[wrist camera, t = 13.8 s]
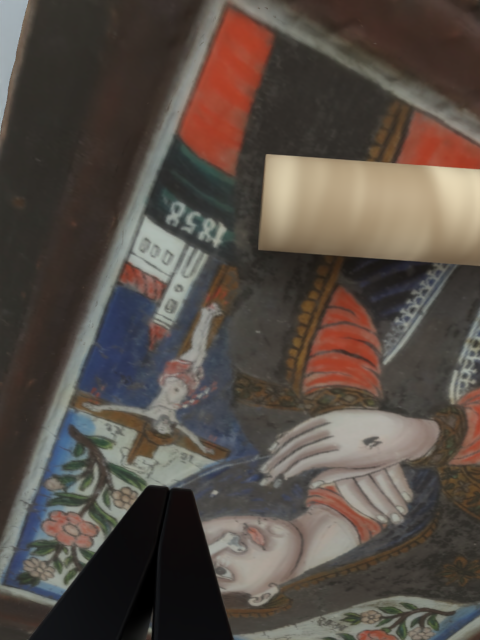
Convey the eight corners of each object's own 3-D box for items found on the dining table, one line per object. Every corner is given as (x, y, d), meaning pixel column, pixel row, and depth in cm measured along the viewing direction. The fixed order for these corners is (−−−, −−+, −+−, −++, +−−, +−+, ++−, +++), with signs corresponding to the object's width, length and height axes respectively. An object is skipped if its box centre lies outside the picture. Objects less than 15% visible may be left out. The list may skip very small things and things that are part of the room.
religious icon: (-89, 585, 30) (-123, 632, 28) (115, -307, 12) (76, -427, 10) (393, 720, 37) (404, 769, 35) (974, 279, 19) (1096, 307, 16)
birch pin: (266, 183, 12) (627, 209, 12) (266, 137, 14) (574, 160, 14) (257, 268, 14) (563, 290, 14) (259, 217, 16) (526, 237, 16)
